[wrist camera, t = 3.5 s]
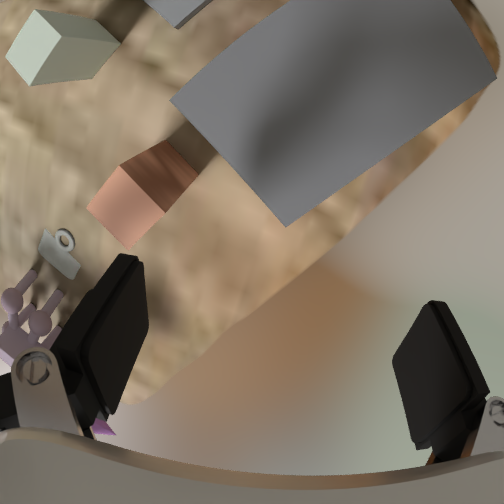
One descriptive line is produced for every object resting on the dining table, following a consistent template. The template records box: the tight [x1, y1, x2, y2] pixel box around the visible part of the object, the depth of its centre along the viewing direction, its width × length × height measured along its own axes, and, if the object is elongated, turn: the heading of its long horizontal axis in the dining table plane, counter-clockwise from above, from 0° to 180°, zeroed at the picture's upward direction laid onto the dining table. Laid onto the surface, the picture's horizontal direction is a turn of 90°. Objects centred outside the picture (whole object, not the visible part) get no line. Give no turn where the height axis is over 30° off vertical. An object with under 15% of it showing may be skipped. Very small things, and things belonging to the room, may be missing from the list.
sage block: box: [5, 9, 121, 86], centre depth 16 cm, size 4×4×8 cm
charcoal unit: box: [169, 0, 497, 227], centre depth 15 cm, size 9×13×12 cm
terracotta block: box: [86, 140, 199, 250], centre depth 21 cm, size 4×4×8 cm
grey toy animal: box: [0, 270, 116, 435], centre depth 30 cm, size 20×11×14 cm, turn 52°
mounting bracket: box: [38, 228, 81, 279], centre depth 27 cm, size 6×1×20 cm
